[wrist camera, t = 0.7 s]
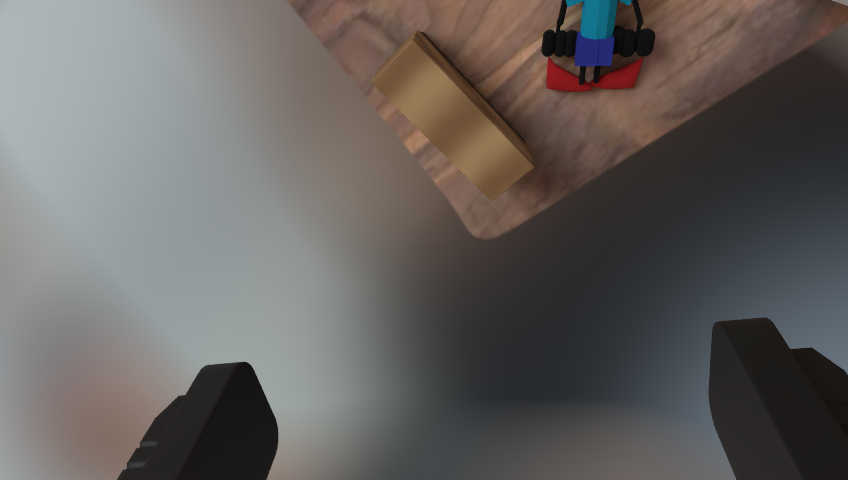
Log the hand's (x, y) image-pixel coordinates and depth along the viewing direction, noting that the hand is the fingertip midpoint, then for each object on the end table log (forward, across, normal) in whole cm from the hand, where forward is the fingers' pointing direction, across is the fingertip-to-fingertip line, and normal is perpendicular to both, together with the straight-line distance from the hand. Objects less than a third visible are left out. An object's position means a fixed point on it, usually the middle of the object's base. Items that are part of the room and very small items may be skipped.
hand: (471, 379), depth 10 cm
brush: (+35, +3, +6) cm, 36 cm away
